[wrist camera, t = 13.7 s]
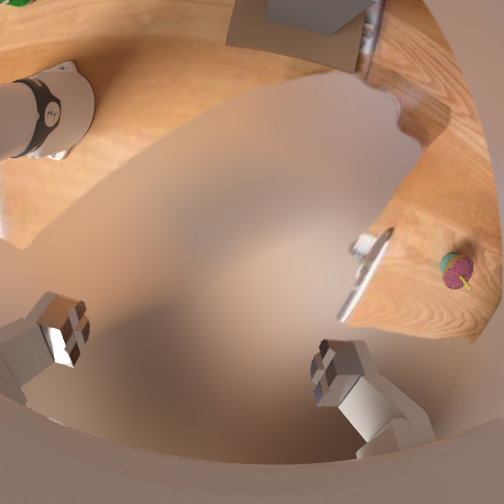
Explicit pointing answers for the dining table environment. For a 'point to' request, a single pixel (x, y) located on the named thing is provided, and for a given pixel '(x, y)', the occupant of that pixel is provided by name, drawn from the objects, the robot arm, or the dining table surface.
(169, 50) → the dining table surface
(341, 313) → the dining table surface
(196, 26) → the dining table surface
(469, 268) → the cupcake
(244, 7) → the press
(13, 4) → the soda can
